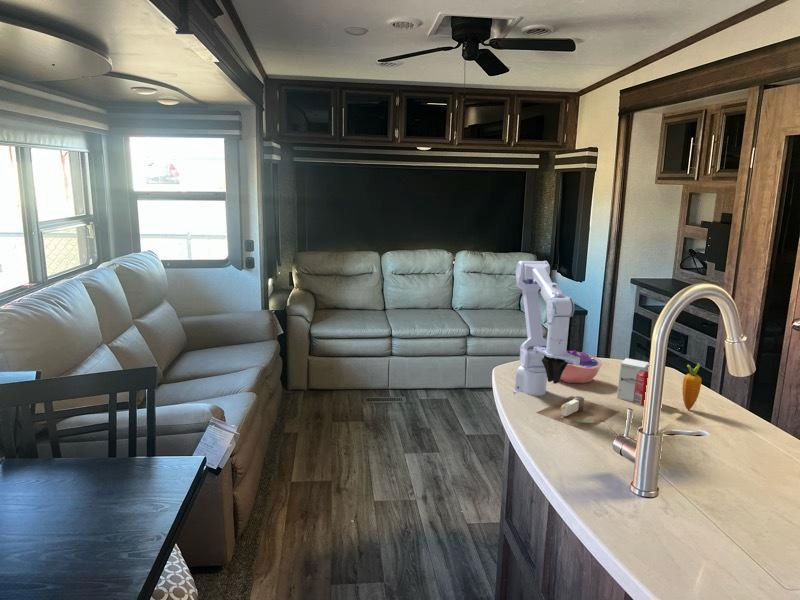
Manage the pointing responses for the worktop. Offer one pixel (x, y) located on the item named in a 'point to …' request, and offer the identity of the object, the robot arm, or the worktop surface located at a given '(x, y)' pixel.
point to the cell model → (581, 368)
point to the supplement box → (629, 378)
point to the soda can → (640, 386)
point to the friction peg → (572, 406)
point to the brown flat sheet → (579, 414)
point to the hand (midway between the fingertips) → (553, 381)
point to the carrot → (691, 387)
